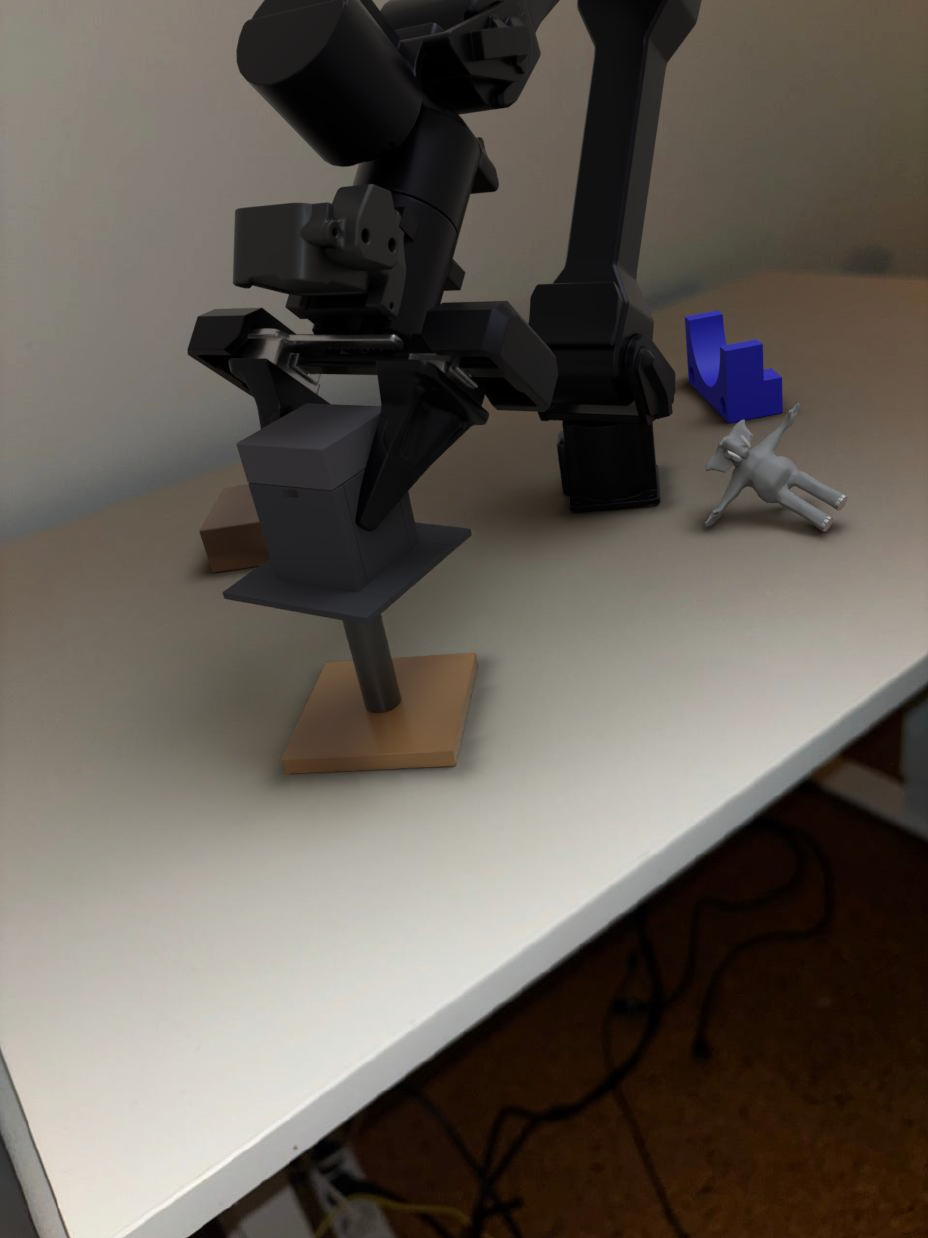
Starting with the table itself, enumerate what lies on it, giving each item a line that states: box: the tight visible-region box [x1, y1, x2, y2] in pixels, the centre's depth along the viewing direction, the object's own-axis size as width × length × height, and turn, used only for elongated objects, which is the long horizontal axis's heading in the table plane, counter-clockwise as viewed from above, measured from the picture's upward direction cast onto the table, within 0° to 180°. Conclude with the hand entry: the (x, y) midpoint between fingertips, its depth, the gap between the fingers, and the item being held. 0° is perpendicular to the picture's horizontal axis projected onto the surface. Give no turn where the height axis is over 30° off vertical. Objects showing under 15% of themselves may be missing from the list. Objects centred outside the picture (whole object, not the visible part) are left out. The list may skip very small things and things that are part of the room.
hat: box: [221, 403, 473, 625], centre depth 49 cm, size 9×9×8 cm
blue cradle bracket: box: [684, 309, 784, 424], centre depth 88 cm, size 12×4×6 cm, turn 5°
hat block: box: [198, 483, 270, 574], centre depth 78 cm, size 8×8×4 cm
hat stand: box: [281, 613, 479, 775], centre depth 54 cm, size 9×9×9 cm
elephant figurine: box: [704, 402, 849, 533], centre depth 67 cm, size 10×6×9 cm
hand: (317, 522), depth 49 cm, fingers closed on hat, 5 cm apart
